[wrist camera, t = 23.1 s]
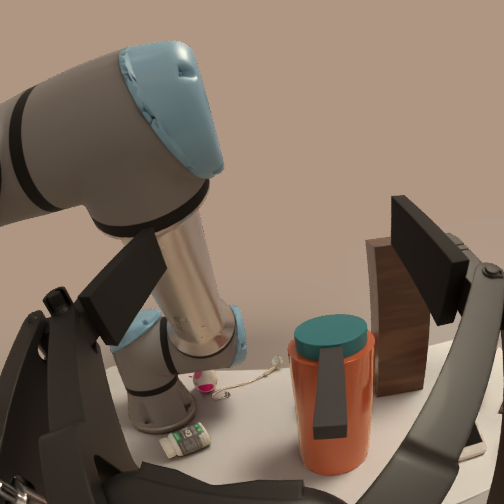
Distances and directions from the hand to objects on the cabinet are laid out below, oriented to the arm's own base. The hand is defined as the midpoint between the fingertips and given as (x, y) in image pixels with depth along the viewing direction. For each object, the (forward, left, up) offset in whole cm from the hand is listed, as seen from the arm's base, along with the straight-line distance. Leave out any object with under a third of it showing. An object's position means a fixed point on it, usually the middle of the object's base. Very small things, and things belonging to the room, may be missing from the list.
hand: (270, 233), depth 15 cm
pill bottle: (-28, +3, -34) cm, 44 cm away
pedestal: (-9, +15, -36) cm, 40 cm away
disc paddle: (-5, +10, -15) cm, 19 cm away
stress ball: (-45, +8, -33) cm, 57 cm away
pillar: (-10, +38, -36) cm, 54 cm away
